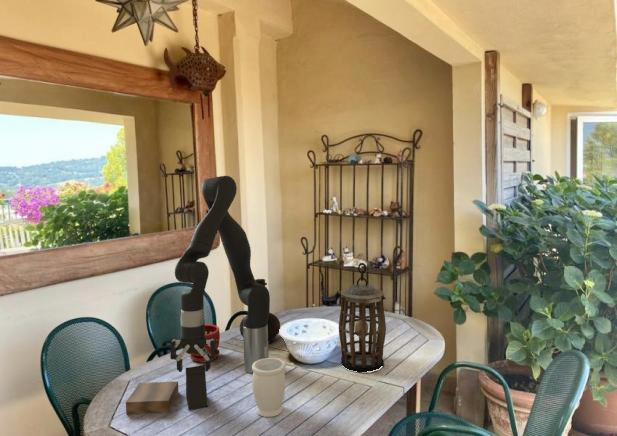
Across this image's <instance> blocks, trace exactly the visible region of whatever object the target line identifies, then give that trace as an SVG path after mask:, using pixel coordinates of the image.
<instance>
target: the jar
mask: <svg viewBox="0 0 617 436" xmlns="http://www.w3.org/2000/svg"><path fill="white" fill-rule="evenodd" d="M285 367H286V364H285V362H284V361H283V360H281V359H279V358H275V357H269V358H265V359H260V360H257V361H255V362H254V363H253V364H252V370H253V371H254V372H253V373H252V377H251V379H252V380H251V384H252V385H251V387H252V393H253V398H254V402H255V404H256V409H255V410H256V413H257V414H258V415H259V416H261V417H265V418H272V417H276V416H278V415H280V414H282V412H283V405H282V404H283V402H284V398H285V390H286V374H285V371H284V370H285Z"/></svg>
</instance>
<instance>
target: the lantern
mask: <svg viewBox="0 0 617 436" xmlns="http://www.w3.org/2000/svg"><path fill="white" fill-rule="evenodd" d="M361 266H363V267H364V270H363V269H360V268H361ZM357 271H358V273H360V277H359V278H358V279H357V281H356V283H354V284H350V285H349V287H348V288H345V289H343V290H340V291H339V293H340V298H339V299H340V300H341V301H340V302H341V304H340V313H339V317H338V319H339V320H338V336H339V342H340V343H339V344H340V347H341V349H340V351H341V359H340V360H341V361H340V363H341V364H342V365H343V366H344V367H345V368H347V369H349V370H353V371H357V372H367V371H373V370H376V369H379V368H380V367H381V366H383V365H384V366H385V362H384V358H383V357H384V347H385V341H386V332H387V323H386V315H385V309H384V308H385V307H384V300H386V299H387V298H386V297H385V293H384V291H383V290H380V289H377V288H376V287H375V285H373V284H370V283H368V280H367V279H366V278H365V277H364V276H365V273H366V272H367V266H366V264H365V263H364V262H360V263H358V266H357ZM360 281H361V282H363V281H364V282H365V283H359V282H360ZM357 308H358V315H356V313H357V311H356V309H357ZM366 308H367V309H368V315H367V314H366V313H367V311H366V310H367V309H366ZM348 311H349V313H348ZM347 318H348V319H347ZM368 322H369V324H368ZM347 324H348V329H349V330H348V329H346V328H347ZM347 334H349V342H348V341H347ZM355 335H356V336H357V337H358V340H355ZM367 336H368V340H367V339H366V337H367ZM356 344H358V351H356ZM366 345H368V347H367V348H366ZM348 346H349V348H348ZM348 349H350V352H349V350H348ZM366 349H368V350H366ZM342 365H341V366H342ZM344 367H343V368H344ZM345 368H344V369H345ZM347 369H346V370H347ZM357 372H356V373H357Z"/></svg>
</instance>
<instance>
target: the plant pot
mask: <svg viewBox="0 0 617 436" xmlns="http://www.w3.org/2000/svg"><path fill="white" fill-rule="evenodd" d="M220 334H221V332H220V327H219V326H217V325H215V324H205V338H206V340H212V338H214V339H215V345H216V356H215V358H214V359H211V361H213V360H215V359H216V358H217V357H219V355H220V350H219V346H220V341H221V340H220V338H221V337H220V336H221V335H220ZM204 347H205V348H206V349H207V351H208V353H209V354H211V348H210V347H209V346H208V344H206V345H205V346H204ZM189 356H190V359H191V360H193V362H197V363H198V362H199V363H205V361H206V359H205V358H204V357H203V356H201V354H200V353H198V354H194V353H192V354H189Z"/></svg>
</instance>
